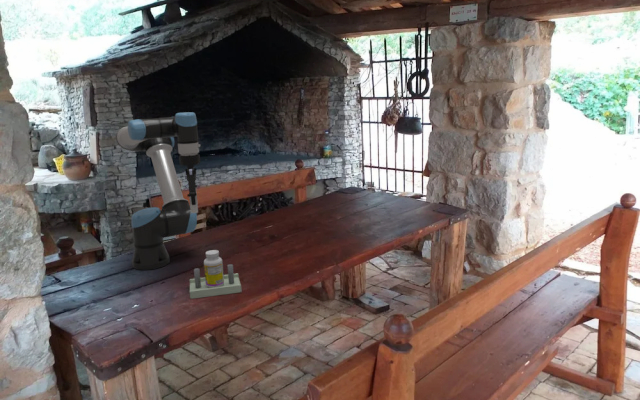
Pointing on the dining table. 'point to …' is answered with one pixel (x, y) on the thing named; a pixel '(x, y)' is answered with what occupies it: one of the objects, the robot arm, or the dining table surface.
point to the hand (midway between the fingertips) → (194, 208)
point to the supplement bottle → (213, 269)
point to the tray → (201, 290)
